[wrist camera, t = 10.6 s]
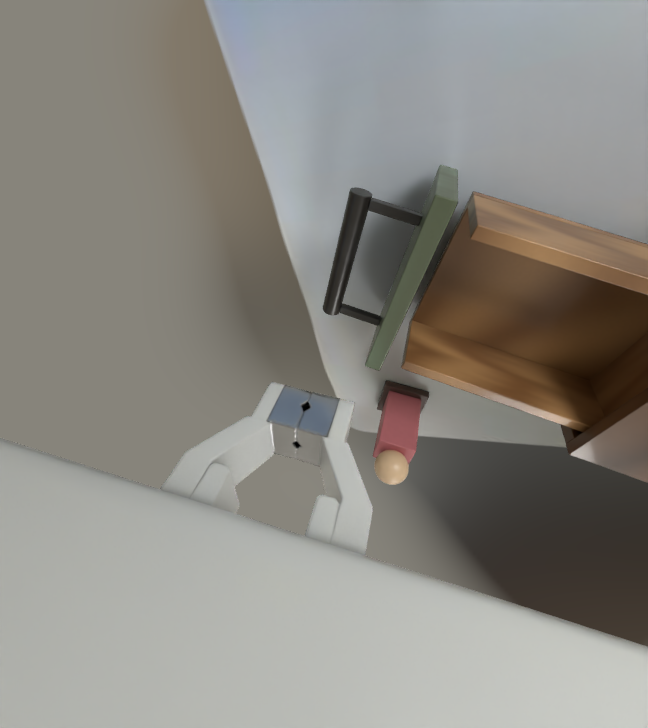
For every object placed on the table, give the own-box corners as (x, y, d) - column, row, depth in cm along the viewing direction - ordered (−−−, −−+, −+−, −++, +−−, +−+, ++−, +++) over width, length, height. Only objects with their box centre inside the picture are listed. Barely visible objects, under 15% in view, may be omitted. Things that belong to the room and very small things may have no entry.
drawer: (331, 300, 30) (307, 345, 25) (370, 143, 21) (345, 166, 16) (580, 385, 28) (606, 452, 23) (737, 253, 19) (831, 316, 15)
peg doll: (386, 380, 36) (368, 462, 29) (429, 392, 35) (422, 479, 28) (377, 404, 39) (359, 484, 32) (417, 416, 38) (408, 500, 31)
